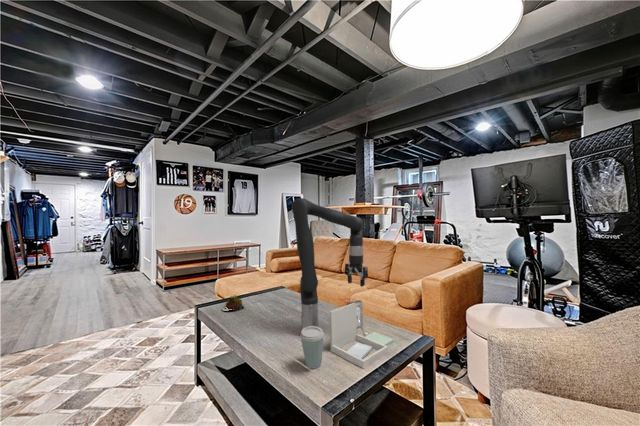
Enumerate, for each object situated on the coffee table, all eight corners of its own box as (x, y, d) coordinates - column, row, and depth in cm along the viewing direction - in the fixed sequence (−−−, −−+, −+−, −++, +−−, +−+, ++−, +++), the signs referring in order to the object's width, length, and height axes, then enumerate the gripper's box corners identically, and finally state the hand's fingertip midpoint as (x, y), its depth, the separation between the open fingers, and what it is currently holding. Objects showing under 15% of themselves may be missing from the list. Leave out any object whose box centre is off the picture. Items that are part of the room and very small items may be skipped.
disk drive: (349, 331, 147) (348, 304, 147) (346, 329, 149) (345, 303, 149) (363, 326, 152) (362, 300, 153) (360, 324, 155) (359, 299, 155)
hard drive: (360, 358, 116) (372, 346, 126) (344, 352, 121) (357, 341, 131) (360, 361, 116) (372, 349, 126) (344, 356, 121) (357, 345, 131)
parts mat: (382, 349, 126) (382, 346, 126) (362, 340, 135) (362, 337, 135) (394, 342, 133) (393, 339, 133) (374, 334, 142) (374, 331, 142)
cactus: (238, 303, 201) (238, 290, 202) (250, 307, 191) (249, 294, 191) (217, 309, 189) (216, 295, 189) (228, 314, 178) (227, 300, 178)
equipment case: (363, 368, 111) (362, 323, 111) (330, 351, 126) (329, 311, 126) (389, 352, 123) (388, 311, 123) (356, 338, 138) (355, 302, 138)
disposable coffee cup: (330, 366, 113) (329, 331, 113) (309, 375, 107) (308, 338, 107) (316, 355, 122) (315, 323, 122) (296, 363, 116) (295, 329, 116)
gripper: (371, 255, 137) (371, 286, 137) (350, 252, 148) (350, 281, 147) (361, 256, 132) (361, 288, 132) (341, 253, 143) (341, 283, 142)
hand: (355, 284), depth 140 cm, fingers open, 8 cm apart
